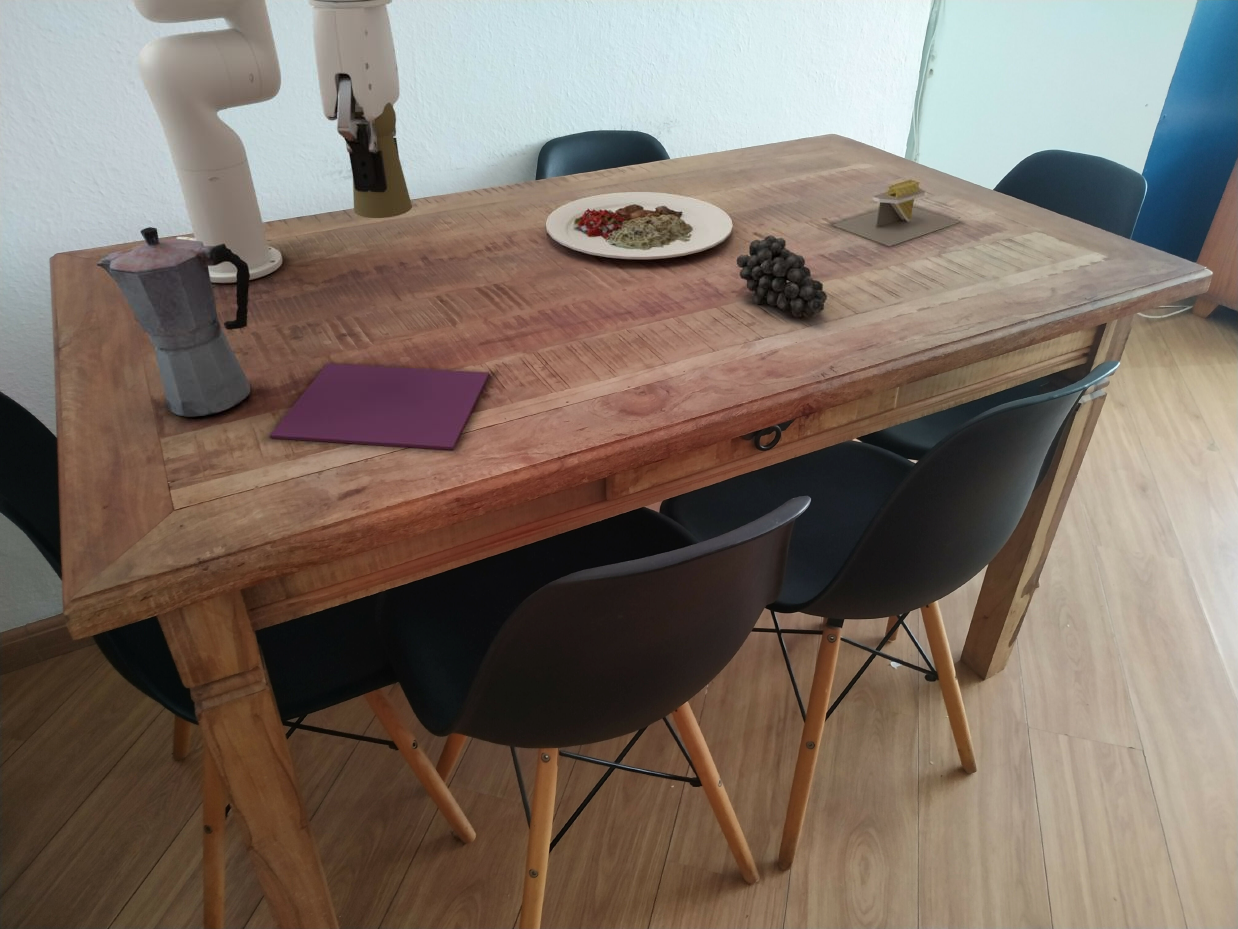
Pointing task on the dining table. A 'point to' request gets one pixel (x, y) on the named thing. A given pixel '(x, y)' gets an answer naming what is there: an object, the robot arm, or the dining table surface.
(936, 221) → the platform
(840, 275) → the dining table surface
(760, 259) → the fruit
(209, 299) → the moka pot
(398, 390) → the placemat
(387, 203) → the pepper mill
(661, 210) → the plated food
